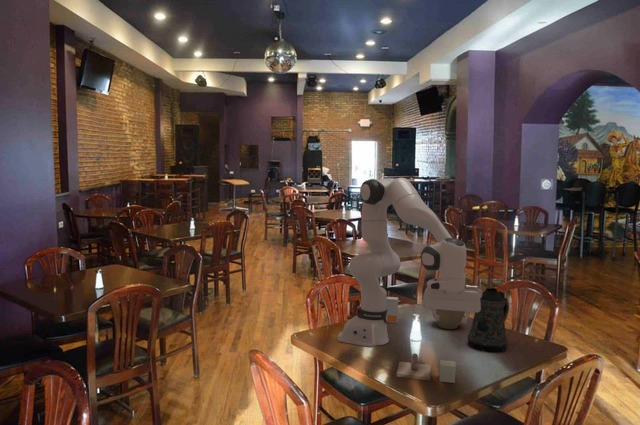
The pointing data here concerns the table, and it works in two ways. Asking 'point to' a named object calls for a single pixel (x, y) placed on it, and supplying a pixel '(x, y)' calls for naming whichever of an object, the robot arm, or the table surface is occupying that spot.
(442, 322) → the planter bowl
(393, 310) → the skincare box
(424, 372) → the post stand
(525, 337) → the table surface
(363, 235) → the robot arm
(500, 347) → the beer stein
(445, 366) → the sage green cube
